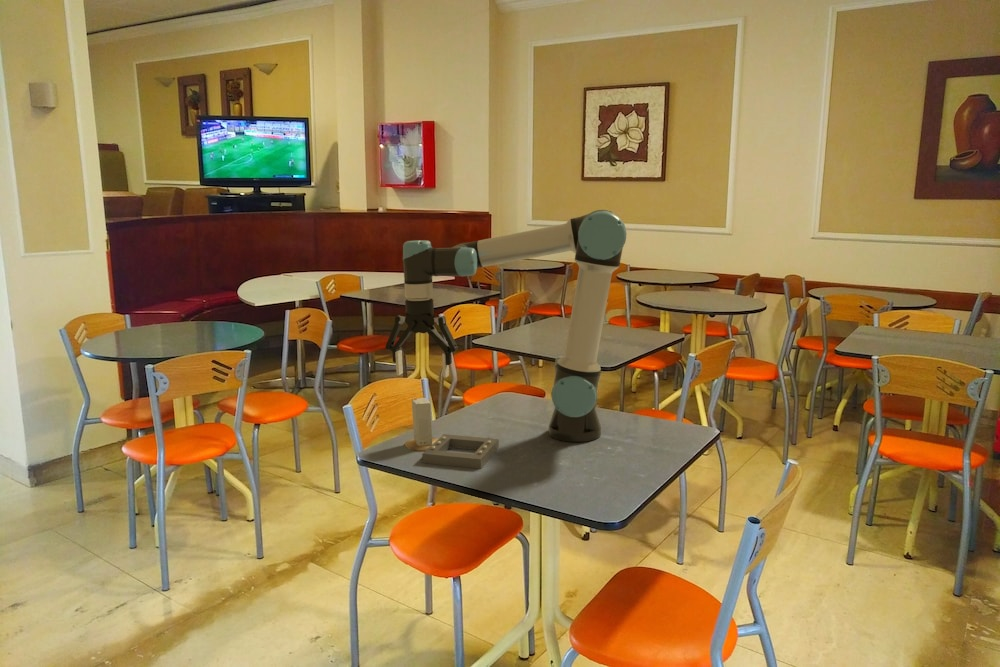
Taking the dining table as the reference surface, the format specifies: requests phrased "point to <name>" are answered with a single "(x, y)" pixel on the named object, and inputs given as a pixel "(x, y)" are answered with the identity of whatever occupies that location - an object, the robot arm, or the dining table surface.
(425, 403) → the skincare box
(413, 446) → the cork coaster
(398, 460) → the dining table surface
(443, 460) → the studded square frame
